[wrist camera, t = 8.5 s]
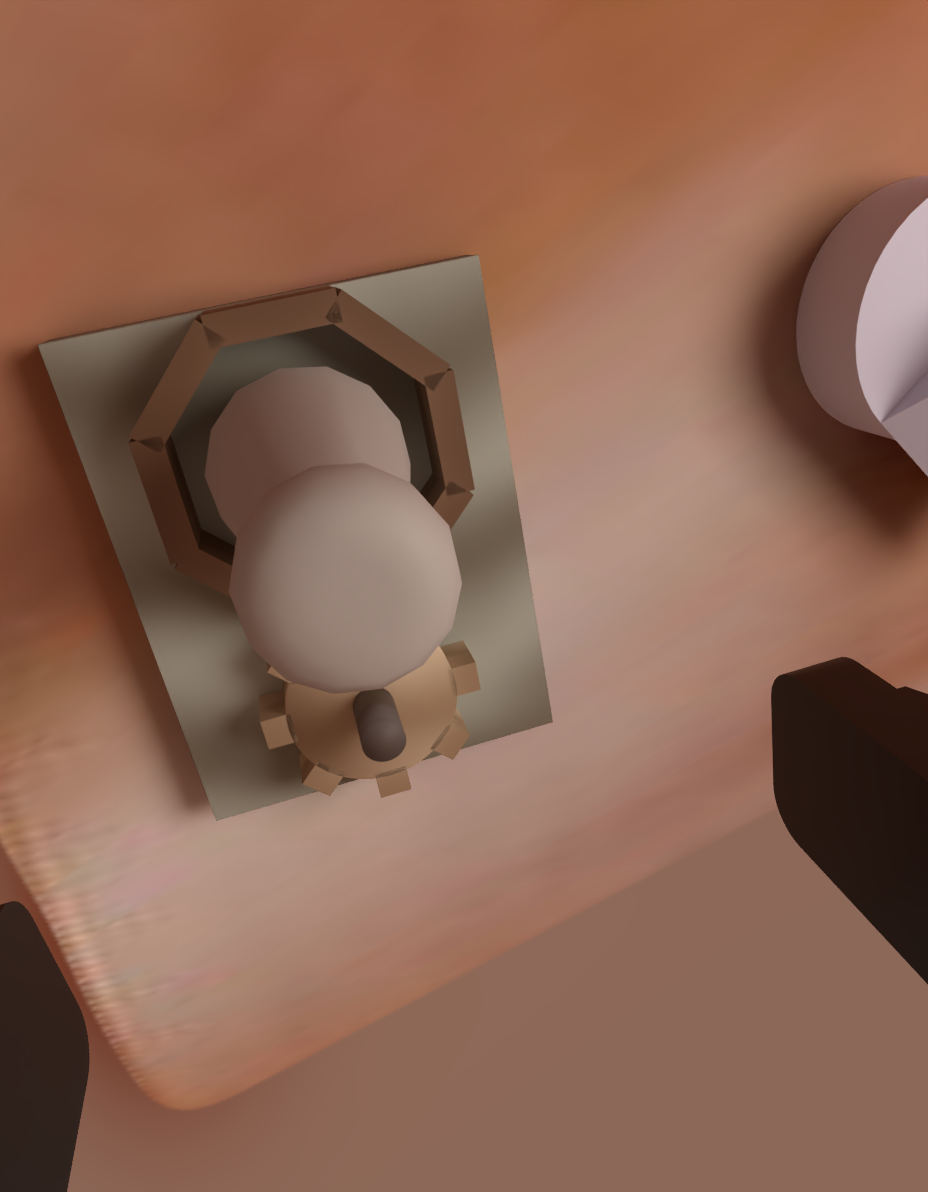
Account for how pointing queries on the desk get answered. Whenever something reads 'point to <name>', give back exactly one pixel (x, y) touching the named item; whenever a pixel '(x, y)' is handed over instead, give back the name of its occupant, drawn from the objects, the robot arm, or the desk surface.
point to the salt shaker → (329, 532)
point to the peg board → (206, 544)
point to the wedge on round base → (872, 318)
